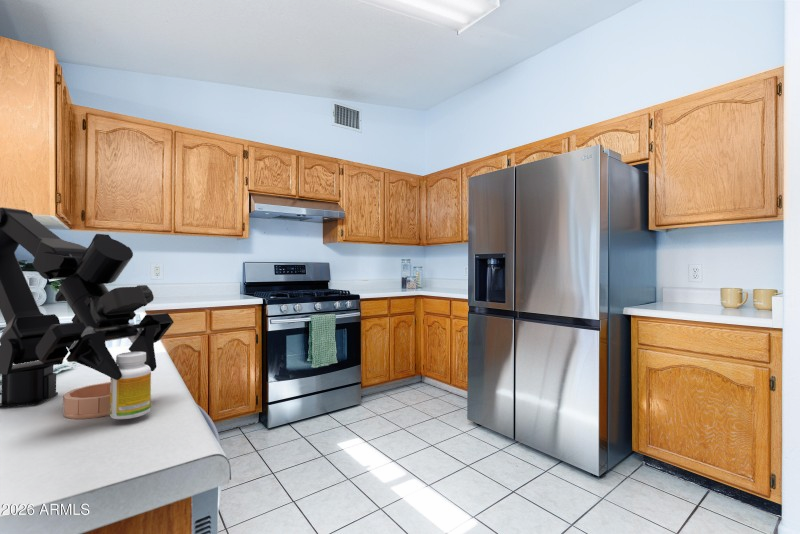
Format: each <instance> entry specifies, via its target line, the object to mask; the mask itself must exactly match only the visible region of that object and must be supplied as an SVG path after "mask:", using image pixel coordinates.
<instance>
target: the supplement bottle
mask: <svg viewBox="0 0 800 534" xmlns="http://www.w3.org/2000/svg"><path fill="white" fill-rule="evenodd" d="M115 359H116V360H115V362H116V364H117V365H118V367H119V369H120V371H121V373H122V377H121V378H120V379H119V380H115V379H113V378H111V377H110V382H111V385H110V415H109V416H110V418H112V419H114V420H128V419H134V418H138V417H142V416H144V415H146V414H147V413H150V411H151V404H152V403H151V402H152V401H151V400H152V399H151V397H152V395H151V394H152V393H151V391H152V379H151V378H152V371H151V368H150V367H149V366H148V365H145V364H144V362H145V361H146V352H131V351H128V352H122V353H118V354H117V355H116V357H115Z"/></svg>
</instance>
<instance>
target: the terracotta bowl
mask: <svg viewBox="0 0 800 534" xmlns="http://www.w3.org/2000/svg"><path fill="white" fill-rule="evenodd" d="M110 385H111V381H108V382H107V381H106V382H102V383H101V382H100V383H95V384H89V385H86V386H81V387H77V388H74V389H71V390H69V391H67V392H66V393H63V394H62V411H63V417H65V418H66V419H71V420H85V419H86V420H87V419H88V420H89V419H95V418H102V417H103V418H104V417H107V416H110Z"/></svg>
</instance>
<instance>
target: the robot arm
mask: <svg viewBox="0 0 800 534" xmlns="http://www.w3.org/2000/svg"><path fill="white" fill-rule="evenodd" d="M19 246H21V247H22V248H23V249H24V250H26V251H27V252H28V253H29V254H30V255H32V257H34V259H33V262H32V267H34V269H35V270H36V271H37V273H38V274H39V275H40V276H41V277H42V278H43V279H45V280H63V281H62V283H61V284H60V285H59V286H58V291H57V292H56V294H55V296H54V297H55V299H54V300H55V302H57V303H59V302H66V303H67V304H68V306H69V307H70V310H71V311H72V312H73V314H74V316H73V317H72V318H71V322H67V323H61V322H60V319H59V317H58V315H56V314H54V313H53V314H44V313H42V312H41V310H40V308H39V306H38V304H37V301H36V299H35V297H34V294H33V292H32V290H31V287H30V285H29V284H28V281H27V279H26V277H25V274H24V272H23V269H22V267H21V264H20V262H19V261H18V257H17V256H16V251H17V250H18V247H19ZM133 256H134V252H133V251H132V248H131V247H129V246H127V245H126V244H124V243H123V242H121V241H119V240H117V239H113V238H112V237H111V236H110V234H107V233H106V234H104V233H103V234H102V233H96V234H95V235H94V237H93V238H92V240H91V242H90V244H89V245H88V247H85V246H83V245H81V244H79V243H75V242H72V241H67V240H64V239H62V238H60V237H59V236H58V235H56V233H54V232H53V231H52V230H50V229H49V228H48V227H46V226H45V225H44V224H42V223H41V222H40V221H39V220H37V219H36V218H35V217H34V215H33V214H32V212H30V211H27V210H25V209H19V208H18V209H17V208H10V207H3V206H2V207H1V206H0V312H1V314H2V318H3V319H4V322H5V327H4V329H3V331H2V333H1V335H0V375H1V402H0V409H3V408H12V407H13V408H16V407H28V406H29V407H30V406H37V405H40V404H43V403H45V402H47V401H48V400H50V399H53V398H54V397H56V396H58V395H59V392H58V391H57V373H56V372H54V366H57V365H58V366H59V365H62V364H63V362H64V360H66V362H67V363H73V362H74V363H77V364H79V365H83V366H85V367H88V368H89V369H93V370H95V371H97V372H99V373H100V374H103V375H104V376H107V377H109V378H110V379H111V378H113V379H115V380H119V379H120V378H121V377H122V373H121V371H120V369H119V367H118V365H117V364H116V360H115V358H114V357H113V355H112V353H111V352H110V351H109V349H108V347H107V346H106V344H107V343H106V342H108V341H109V342H110V341H115V340H121V339H128V340H129V341H130V342H131V345H130V346H129V348H128V350H129V352H146V361H145V362H144V364H145V365H148V366H149V367H150V368H151V372H154V371H155V370H156V368H157V359H156V353H155V346H154V345H155V344H154V343H157V342H159V341H160V340H161V339H162V338H163V337H164V336H165V334H166V333H167V332H168V330H169V329H170V328H171V326H172V325H173V324H174V323H175V322H174V320H173V319H172V317H171V315H170V314H169V313H168V312H161V313H149V314H145V315H144V317H143V318H142V319H141V320H140V322H139V323H137V324H134V323H130V321H132V320H134V318H135V317H136V315H137V314H136V312H135V311H138V310H139V309H140V308H143V307H146V306H148V304H150V303H152V302H153V301H154V298H155V297H154V294H153V291H152V289H151V288H150V287H149V286H148V285H146V284H141V285H139V284H138V285H136V286H121V287H116V288H113V289H111V290H109V289H108V288H107V286H106V285H107V284H111V283H114V282H116V280H117V279H118V278H119V276H120V275H121V274H122V272H123V271H124V270H125V268H126V266H128V264H129V262H130V261H131V260H132V259H133ZM65 358H66V359H65Z"/></svg>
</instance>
